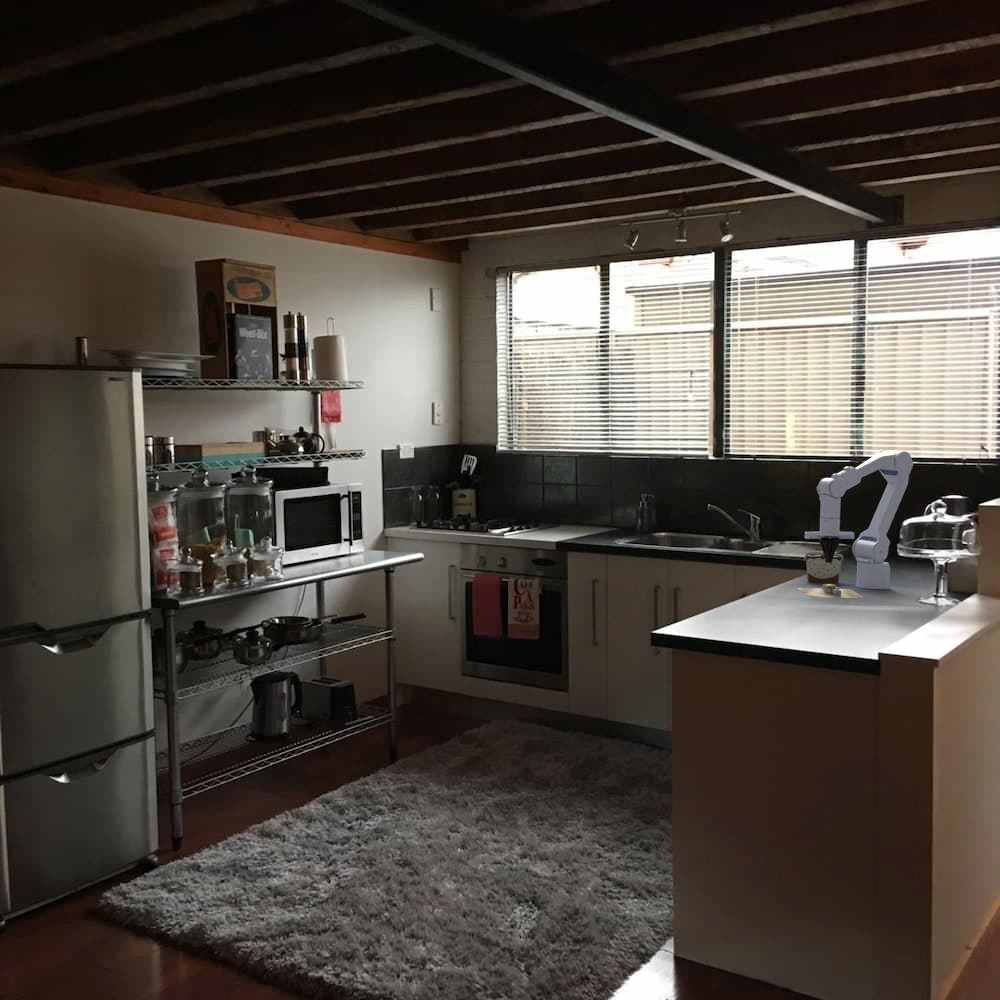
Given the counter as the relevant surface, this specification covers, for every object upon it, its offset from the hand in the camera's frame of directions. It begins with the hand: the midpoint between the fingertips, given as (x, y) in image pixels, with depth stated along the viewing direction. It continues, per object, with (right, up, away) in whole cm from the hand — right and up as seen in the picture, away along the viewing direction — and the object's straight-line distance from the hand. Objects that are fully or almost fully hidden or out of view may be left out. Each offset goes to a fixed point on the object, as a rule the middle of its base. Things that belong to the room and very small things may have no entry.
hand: (828, 562), depth 327 cm
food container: (+3, -8, +18) cm, 20 cm away
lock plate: (-1, -10, -5) cm, 11 cm away
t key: (-1, -9, -5) cm, 10 cm away
